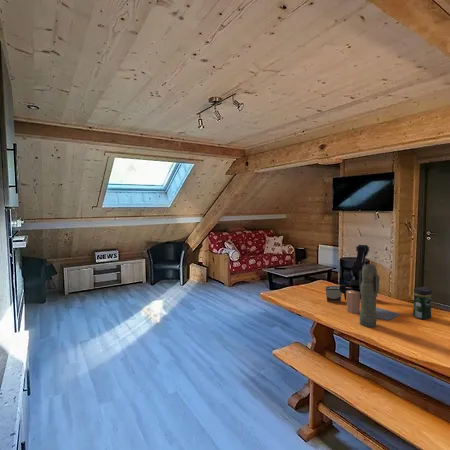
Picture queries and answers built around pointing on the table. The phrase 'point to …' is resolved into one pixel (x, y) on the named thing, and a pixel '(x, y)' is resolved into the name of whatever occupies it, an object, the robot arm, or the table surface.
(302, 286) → the table surface
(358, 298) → the brown piece
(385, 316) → the slate mat
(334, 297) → the food container
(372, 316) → the thermos
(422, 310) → the coffee jar
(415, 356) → the table surface
